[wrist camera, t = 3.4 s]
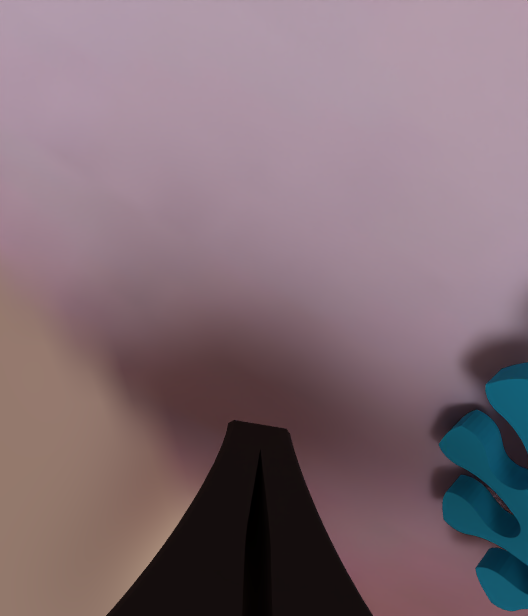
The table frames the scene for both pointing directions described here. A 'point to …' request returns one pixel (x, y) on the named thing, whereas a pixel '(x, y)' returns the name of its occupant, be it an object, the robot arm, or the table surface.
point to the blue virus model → (494, 488)
